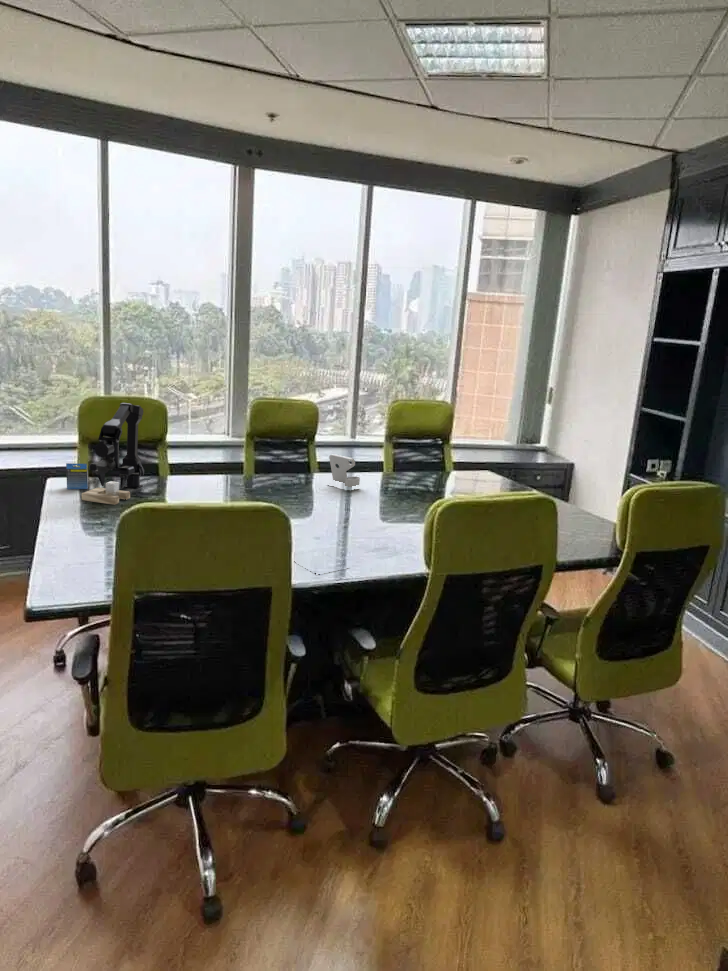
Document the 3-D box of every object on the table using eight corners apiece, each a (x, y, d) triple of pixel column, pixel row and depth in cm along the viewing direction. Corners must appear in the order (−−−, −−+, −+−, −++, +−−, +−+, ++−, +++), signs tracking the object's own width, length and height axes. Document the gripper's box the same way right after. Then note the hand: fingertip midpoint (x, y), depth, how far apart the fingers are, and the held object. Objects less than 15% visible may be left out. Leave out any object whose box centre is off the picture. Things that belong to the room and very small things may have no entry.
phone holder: (361, 489, 326) (364, 456, 322) (350, 491, 318) (352, 458, 314) (336, 482, 336) (338, 451, 331) (324, 485, 328) (327, 452, 323)
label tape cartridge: (88, 487, 283) (88, 461, 280) (87, 489, 280) (87, 463, 277) (67, 487, 280) (67, 461, 277) (66, 489, 277) (65, 463, 274)
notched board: (98, 493, 274) (97, 487, 273) (130, 498, 272) (130, 491, 271) (81, 500, 263) (81, 493, 262) (115, 504, 260) (115, 498, 259)
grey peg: (111, 498, 269) (110, 481, 267) (119, 499, 268) (119, 482, 266) (105, 500, 265) (105, 483, 263) (114, 501, 264) (113, 484, 263)
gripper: (80, 453, 255) (81, 488, 259) (121, 458, 252) (121, 494, 256) (96, 449, 266) (97, 483, 270) (135, 454, 263) (135, 488, 267)
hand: (112, 487), depth 265 cm, fingers open, 9 cm apart
